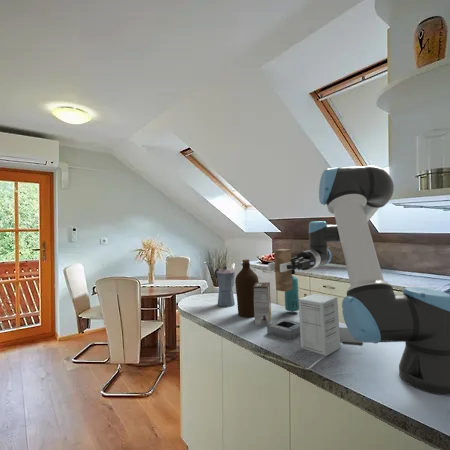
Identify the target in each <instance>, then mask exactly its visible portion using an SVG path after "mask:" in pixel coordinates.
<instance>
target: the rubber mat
mask: <svg viewBox="0 0 450 450" xmlns="http://www.w3.org/2000/svg"><path fill="white" fill-rule="evenodd" d="M339 335H340V343H341V344H349V345H360V344H361V345H363V343H364V342H359V341H357V340H356V339H355V338H354V337H353V336H352V335H351V334H350V332H349V330H348V328H347V327H341V326H339Z"/></svg>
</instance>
